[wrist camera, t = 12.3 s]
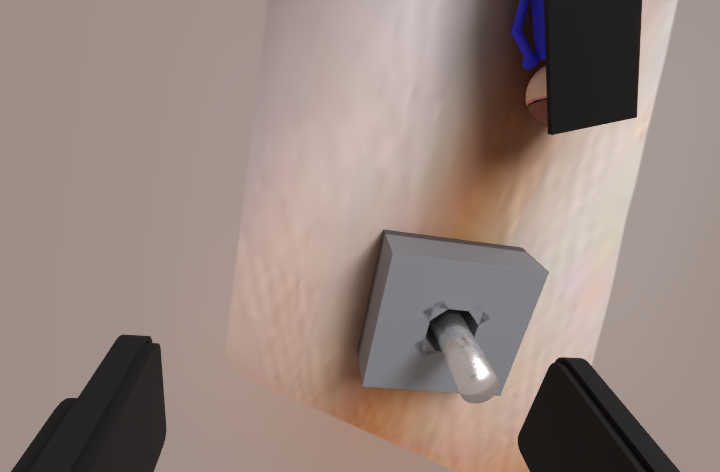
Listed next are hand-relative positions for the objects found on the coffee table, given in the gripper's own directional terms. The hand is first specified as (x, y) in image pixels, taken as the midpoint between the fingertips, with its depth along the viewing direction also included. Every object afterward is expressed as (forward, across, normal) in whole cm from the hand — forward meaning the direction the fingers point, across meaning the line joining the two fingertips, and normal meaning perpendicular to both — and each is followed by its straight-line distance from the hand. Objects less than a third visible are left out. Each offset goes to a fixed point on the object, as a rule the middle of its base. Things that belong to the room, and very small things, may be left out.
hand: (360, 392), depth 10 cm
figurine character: (+28, -16, -11) cm, 34 cm away
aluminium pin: (+25, -13, +15) cm, 32 cm away
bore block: (+26, -13, +15) cm, 33 cm away
